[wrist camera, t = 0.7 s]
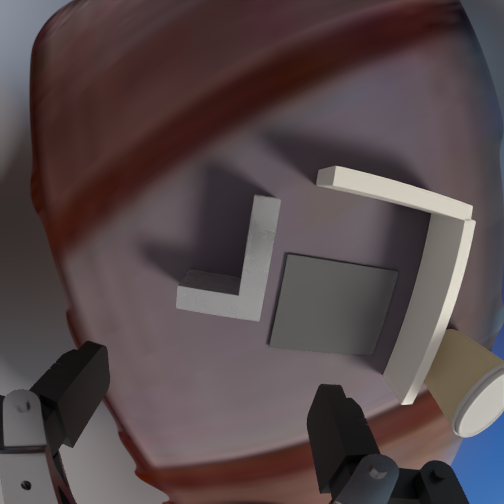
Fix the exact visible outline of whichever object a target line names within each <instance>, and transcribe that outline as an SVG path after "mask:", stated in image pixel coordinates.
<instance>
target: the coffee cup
mask: <svg viewBox="0 0 504 504" xmlns="http://www.w3.org/2000/svg"><path fill="white" fill-rule="evenodd" d="M424 383H425V384H426V386H427V388H428V389H429V391H430V392H431V394H432V396H433V397H434V399H435V400H436V402H437V404H438V405H439V407H440V408H441V410H442V412H443V413H444V415H445V417H446V418H447V420H448V421H449V423H450V425H451V427H452V430H453V432H454V433H455V434H456V435H458V436H461V437H471V436H474V435H476V434H478V433H480V432H481V431H483V430H484V429H486V428H487V427H488V426H490V425H491V424H492V423H493V422H494V421H495V420H496V419H497V418H498V417H499V416H500V415H501V414H502V413H503V411H504V361H503V360H502V359H500V358H499V357H497V356H496V355H494V354H493V353H491V352H490V351H489V350H487V349H486V348H484V347H483V346H481V345H480V344H478V343H477V342H475V341H474V340H472V339H470V338H469V337H467V336H466V335H464V334H463V333H461V332H459V331H457V330H455V329H447V330H445V333H444V336H443V338H442V341H441V343H440V346H439V348H438V351H437V353H436V355H435V358H434V360H433V362H432V364H431V367H430V369H429V371H428V373H427V375H426V377H425V380H424Z"/></svg>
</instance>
